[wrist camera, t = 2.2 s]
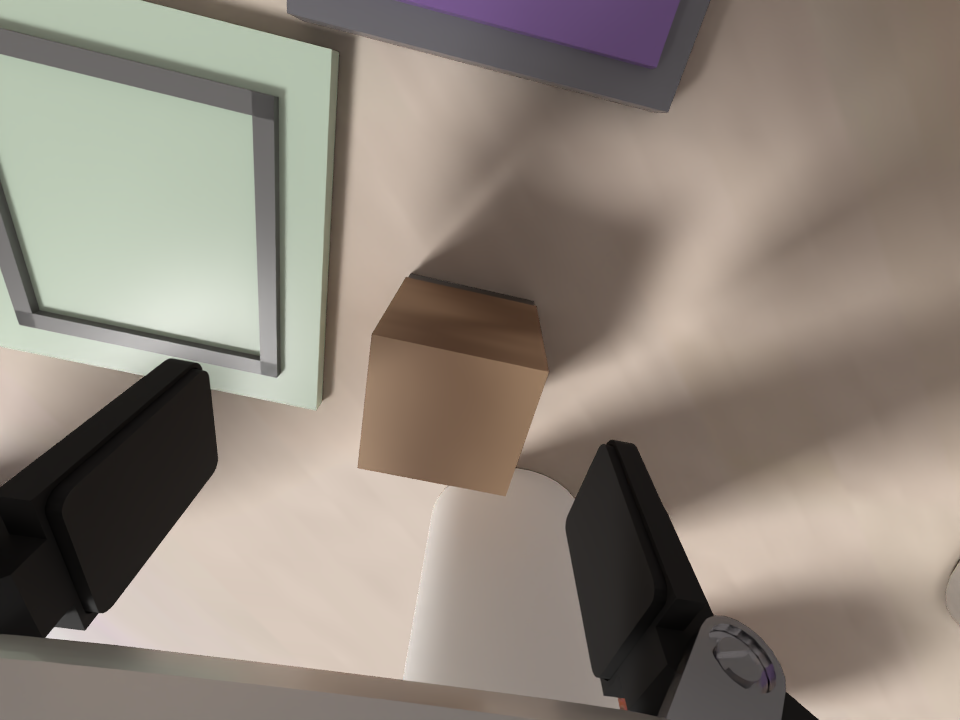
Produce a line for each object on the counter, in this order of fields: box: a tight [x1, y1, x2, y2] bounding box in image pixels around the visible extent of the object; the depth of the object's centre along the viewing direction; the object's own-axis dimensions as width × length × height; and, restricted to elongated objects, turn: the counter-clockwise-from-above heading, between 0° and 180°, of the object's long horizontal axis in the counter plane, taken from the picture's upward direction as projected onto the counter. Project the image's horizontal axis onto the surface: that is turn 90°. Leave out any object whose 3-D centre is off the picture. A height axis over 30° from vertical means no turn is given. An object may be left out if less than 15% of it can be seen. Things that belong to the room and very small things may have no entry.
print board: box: [0, 0, 339, 410], centre depth 14 cm, size 12×12×1 cm
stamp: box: [358, 274, 549, 496], centre depth 14 cm, size 4×4×5 cm
